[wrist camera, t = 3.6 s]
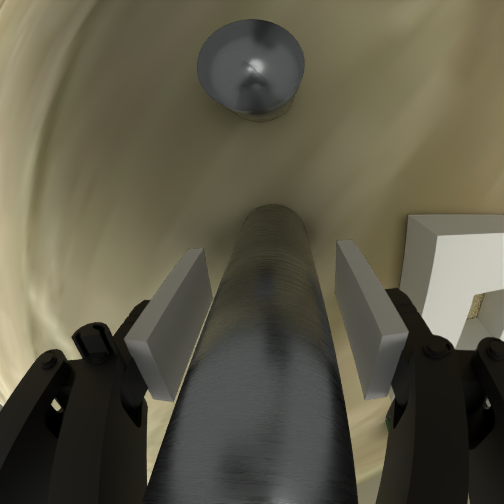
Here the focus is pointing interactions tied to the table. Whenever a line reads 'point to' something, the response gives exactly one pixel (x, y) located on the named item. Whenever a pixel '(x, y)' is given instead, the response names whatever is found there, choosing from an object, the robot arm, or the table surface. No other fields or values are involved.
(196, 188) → the table surface
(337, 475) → the long pin
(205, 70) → the short pin
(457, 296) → the socket block
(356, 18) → the table surface
